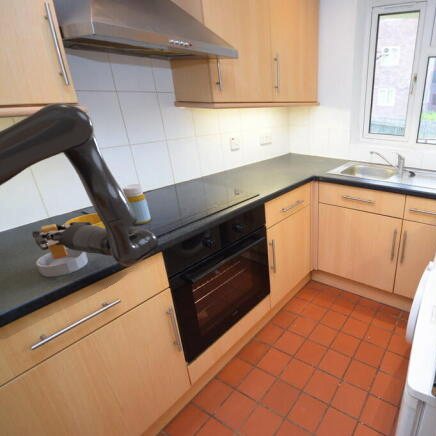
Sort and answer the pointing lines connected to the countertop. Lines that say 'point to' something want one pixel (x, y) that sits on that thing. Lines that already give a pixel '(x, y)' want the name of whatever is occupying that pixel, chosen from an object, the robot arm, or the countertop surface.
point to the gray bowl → (61, 263)
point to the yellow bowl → (88, 220)
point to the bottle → (137, 203)
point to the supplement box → (56, 250)
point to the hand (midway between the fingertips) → (44, 230)
